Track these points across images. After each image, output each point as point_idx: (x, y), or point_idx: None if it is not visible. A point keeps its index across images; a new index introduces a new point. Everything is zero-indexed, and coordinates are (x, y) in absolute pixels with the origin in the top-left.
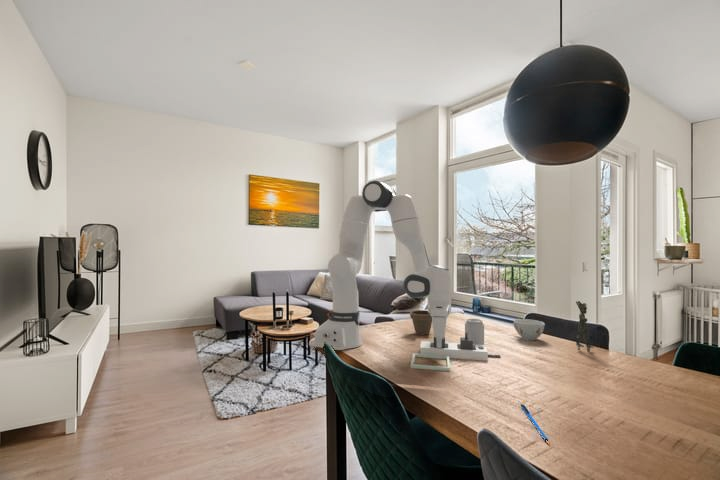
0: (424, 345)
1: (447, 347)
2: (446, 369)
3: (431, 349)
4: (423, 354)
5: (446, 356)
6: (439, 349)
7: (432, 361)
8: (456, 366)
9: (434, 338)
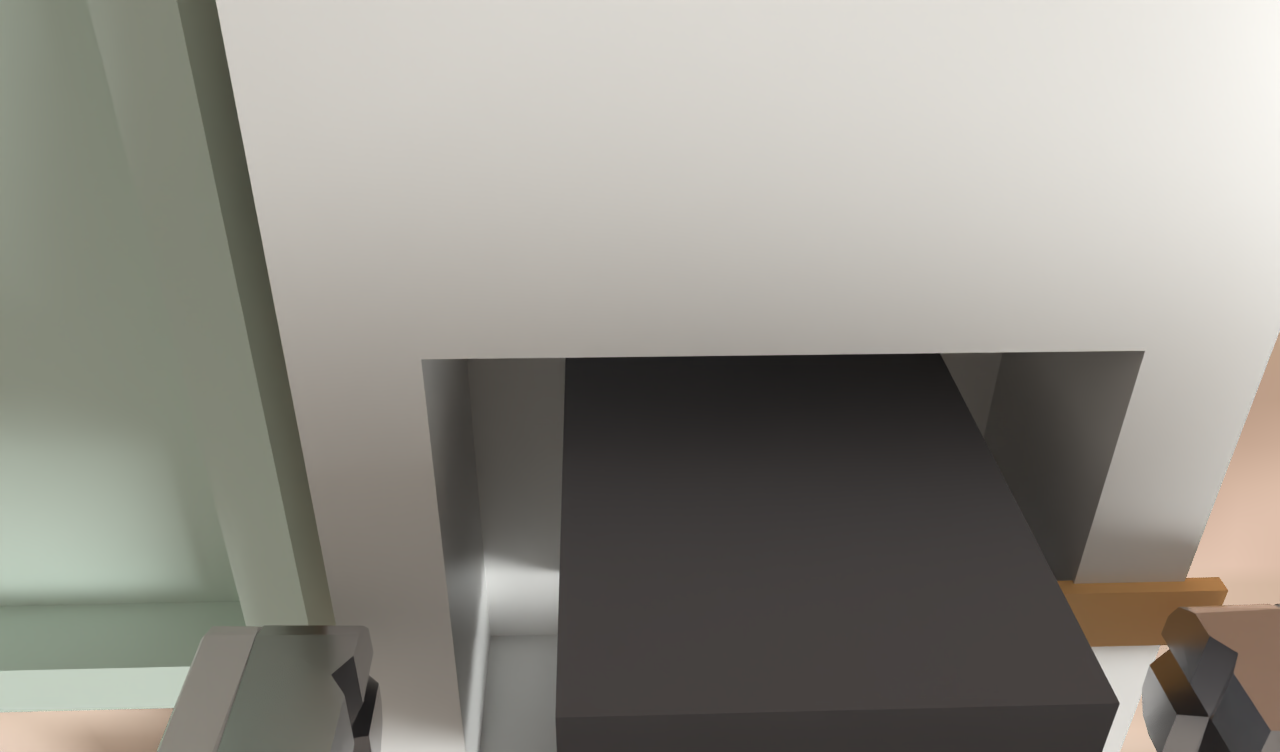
0: (623, 120)
1: None
2: None
3: (306, 377)
4: (100, 27)
5: None
6: (346, 613)
7: None
8: (59, 711)
9: (590, 743)
